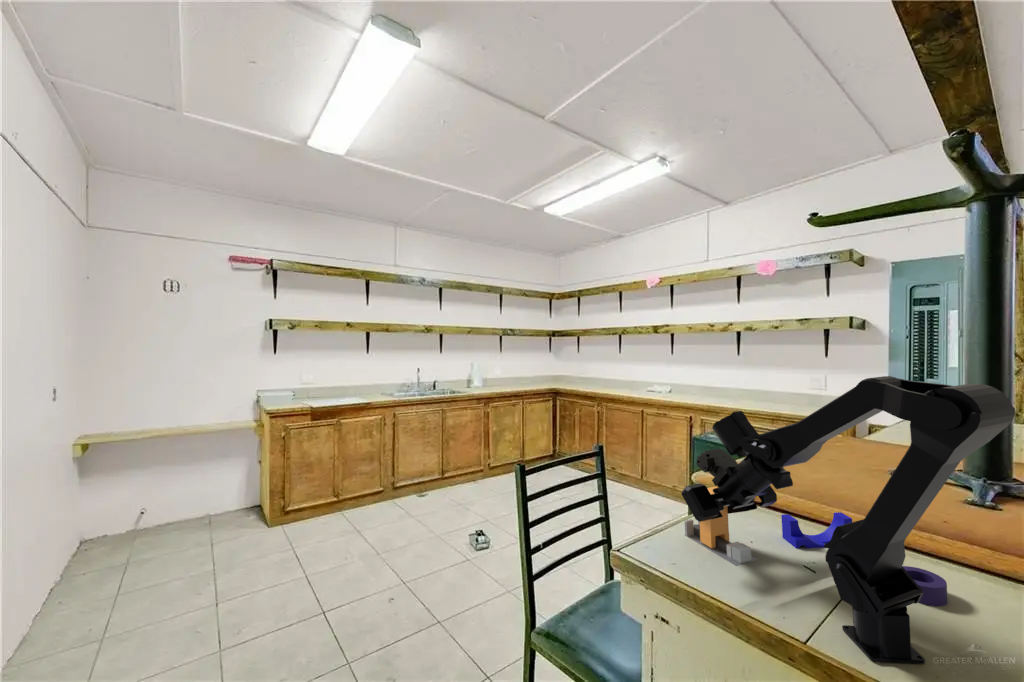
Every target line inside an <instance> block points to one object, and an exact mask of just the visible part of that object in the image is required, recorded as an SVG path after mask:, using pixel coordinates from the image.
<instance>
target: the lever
mask: <svg viewBox="0 0 1024 682" xmlns="http://www.w3.org/2000/svg"><path fill="white" fill-rule="evenodd" d="M902 566H903V568H904V569H905V570H906V571H907V572H908V574H909V575H910V576H911V577H912V578H913V579H914V581H915V582H916V583H917V584H918V585H919V587H920V588H921V589H922V590H923V595H922V597H921V599H920V601H919V603H918V604H921V605H925V606H930V607H944V606H946V605H948V601H949V600H948V582H947V581H946V579H944V577H942V576H941V575H938V574H936V573H934V572H932V571H930V570H926V569H923V568H919V567H915V566H909V565H907V566H906V565H902Z"/></svg>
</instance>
